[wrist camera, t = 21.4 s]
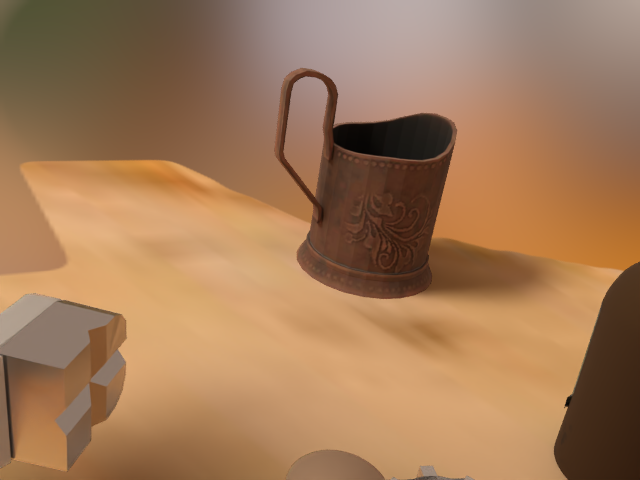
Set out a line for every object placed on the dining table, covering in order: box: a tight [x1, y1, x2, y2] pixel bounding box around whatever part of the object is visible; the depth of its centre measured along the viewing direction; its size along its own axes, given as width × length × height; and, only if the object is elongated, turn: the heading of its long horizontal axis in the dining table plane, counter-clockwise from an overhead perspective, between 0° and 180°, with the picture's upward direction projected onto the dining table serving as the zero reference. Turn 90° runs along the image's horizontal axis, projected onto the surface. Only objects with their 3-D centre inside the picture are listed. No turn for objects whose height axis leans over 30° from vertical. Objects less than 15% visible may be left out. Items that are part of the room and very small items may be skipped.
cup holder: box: [274, 68, 457, 299], centre depth 76 cm, size 18×24×25 cm
